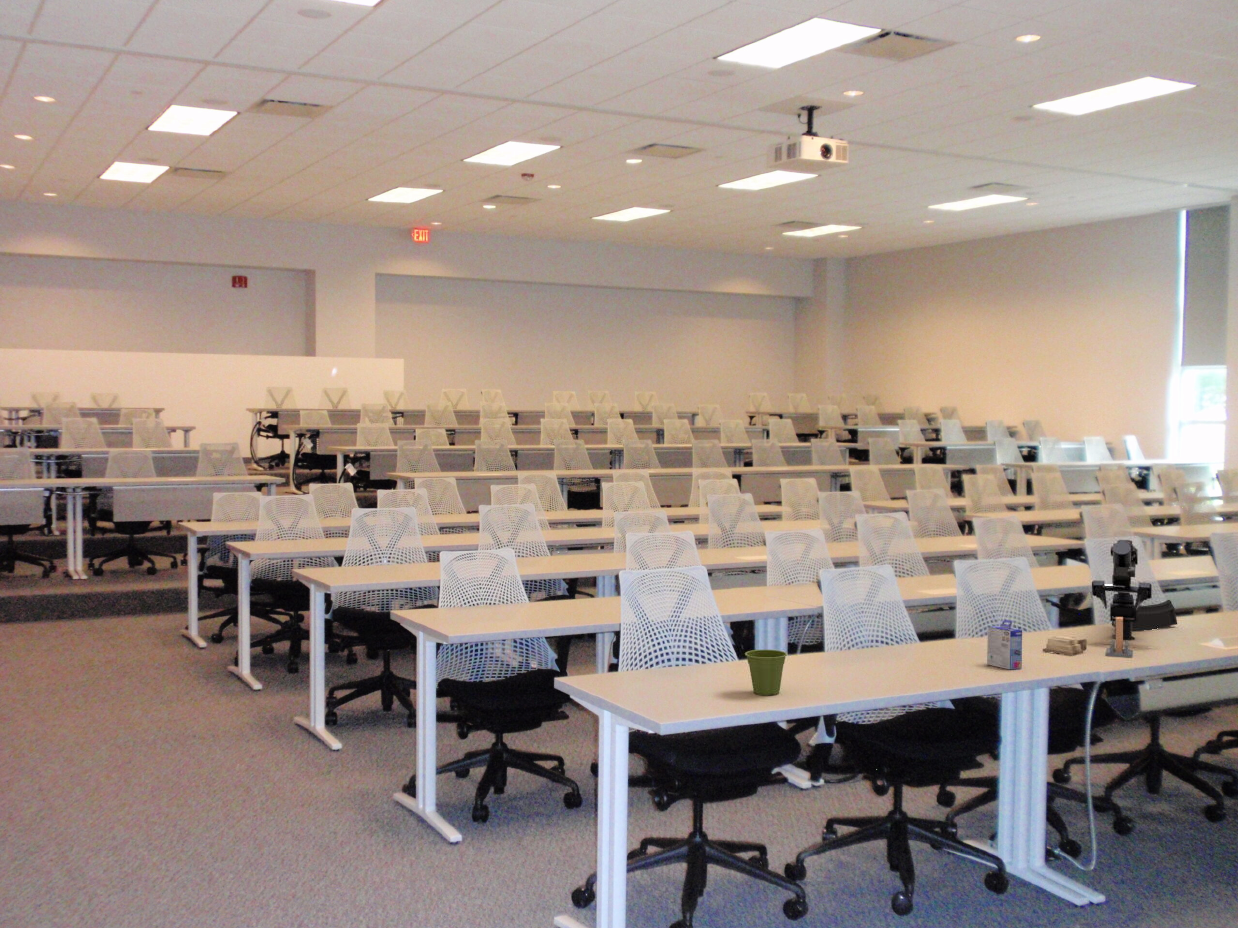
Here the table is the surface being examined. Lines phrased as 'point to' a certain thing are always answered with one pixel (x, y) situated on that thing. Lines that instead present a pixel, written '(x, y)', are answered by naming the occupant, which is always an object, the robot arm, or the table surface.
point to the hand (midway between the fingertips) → (1120, 608)
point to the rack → (1066, 645)
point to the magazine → (1154, 617)
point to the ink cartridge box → (1004, 646)
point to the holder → (1112, 652)
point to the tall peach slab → (1119, 634)
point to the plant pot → (766, 670)
